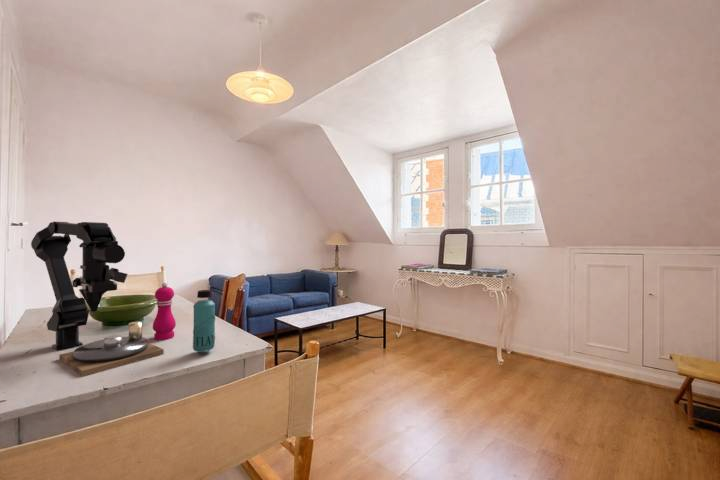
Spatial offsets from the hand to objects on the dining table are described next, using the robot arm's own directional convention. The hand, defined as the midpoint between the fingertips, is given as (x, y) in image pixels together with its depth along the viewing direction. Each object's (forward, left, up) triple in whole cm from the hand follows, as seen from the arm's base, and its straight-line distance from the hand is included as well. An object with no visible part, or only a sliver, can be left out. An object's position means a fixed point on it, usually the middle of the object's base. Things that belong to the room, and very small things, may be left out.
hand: (94, 311), depth 102 cm
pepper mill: (+2, +20, -13) cm, 24 cm away
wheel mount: (+9, +2, -13) cm, 16 cm away
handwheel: (+9, +2, -11) cm, 15 cm away
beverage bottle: (+28, +20, -13) cm, 37 cm away
